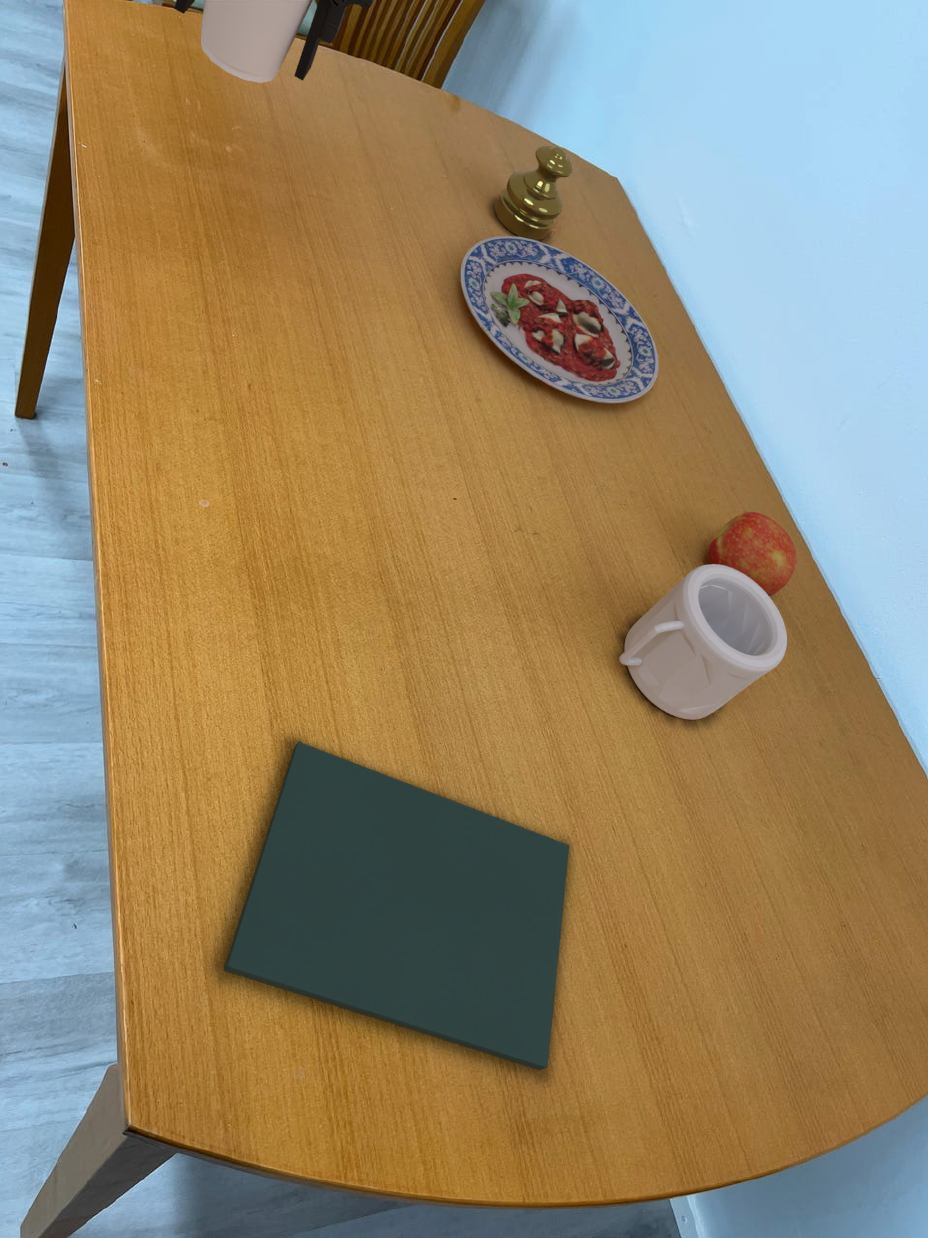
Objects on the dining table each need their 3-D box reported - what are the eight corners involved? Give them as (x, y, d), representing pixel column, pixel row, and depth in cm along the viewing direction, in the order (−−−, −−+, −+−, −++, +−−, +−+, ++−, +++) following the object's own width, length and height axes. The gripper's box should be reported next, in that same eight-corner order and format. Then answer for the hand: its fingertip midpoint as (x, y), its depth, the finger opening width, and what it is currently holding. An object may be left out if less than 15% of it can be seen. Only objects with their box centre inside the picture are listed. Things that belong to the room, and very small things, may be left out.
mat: (223, 970, 59) (227, 966, 58) (294, 747, 69) (298, 741, 68) (540, 1070, 64) (547, 1068, 63) (562, 849, 74) (569, 845, 73)
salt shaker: (484, 197, 121) (522, 125, 114) (531, 205, 125) (570, 136, 118) (507, 239, 118) (548, 167, 111) (554, 245, 122) (597, 176, 115)
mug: (690, 618, 95) (756, 560, 88) (736, 717, 91) (810, 664, 83) (580, 623, 88) (643, 560, 81) (624, 730, 84) (694, 674, 76)
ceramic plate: (645, 310, 124) (659, 292, 121) (651, 448, 108) (666, 430, 106) (463, 219, 116) (474, 198, 114) (441, 353, 100) (453, 331, 98)
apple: (714, 534, 105) (763, 487, 99) (771, 589, 104) (824, 545, 98) (683, 566, 99) (733, 519, 93) (743, 624, 98) (797, 581, 92)
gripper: (500, -212, 67) (378, 90, 83) (192, -422, 61) (127, -53, 78) (486, -186, 62) (360, 129, 78) (151, -411, 56) (91, -21, 73)
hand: (244, 38), depth 78 cm, fingers closed on foam cup, 9 cm apart
